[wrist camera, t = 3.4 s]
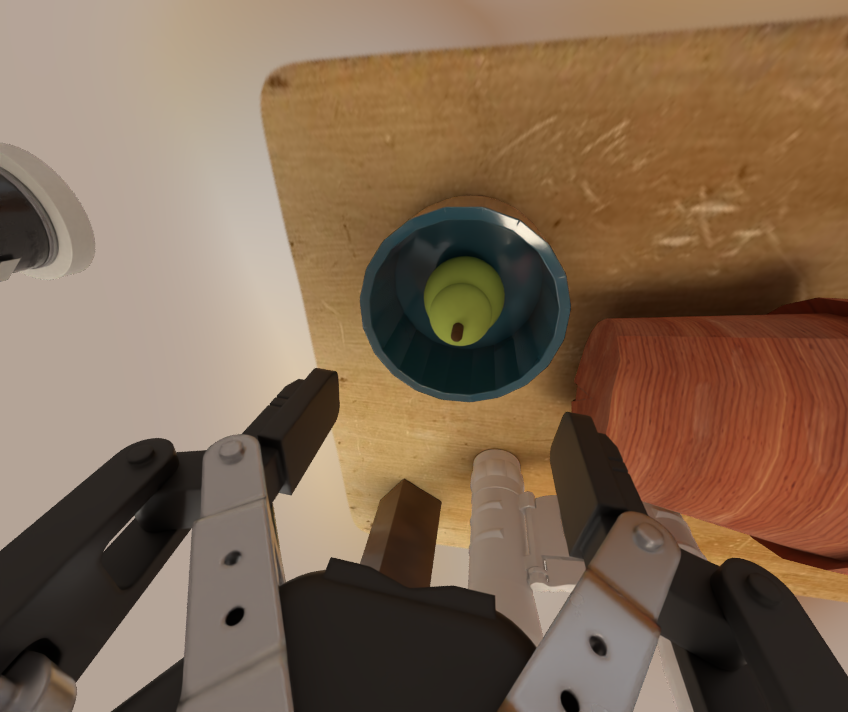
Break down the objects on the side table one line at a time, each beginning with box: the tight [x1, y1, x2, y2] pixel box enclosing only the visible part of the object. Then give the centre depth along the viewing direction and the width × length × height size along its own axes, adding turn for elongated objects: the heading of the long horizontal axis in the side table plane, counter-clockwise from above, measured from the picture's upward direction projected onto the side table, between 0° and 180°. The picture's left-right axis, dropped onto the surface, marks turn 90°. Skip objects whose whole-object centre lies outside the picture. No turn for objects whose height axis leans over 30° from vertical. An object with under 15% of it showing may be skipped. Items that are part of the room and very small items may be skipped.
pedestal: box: [360, 479, 441, 588], centre depth 26 cm, size 5×5×28 cm
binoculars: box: [468, 449, 707, 712], centre depth 25 cm, size 17×5×18 cm, turn 98°
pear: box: [424, 256, 505, 346], centre depth 20 cm, size 5×5×9 cm
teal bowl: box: [360, 195, 571, 402], centre depth 22 cm, size 12×12×7 cm
